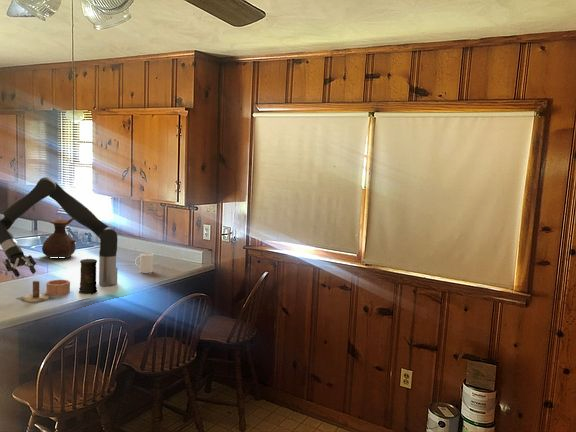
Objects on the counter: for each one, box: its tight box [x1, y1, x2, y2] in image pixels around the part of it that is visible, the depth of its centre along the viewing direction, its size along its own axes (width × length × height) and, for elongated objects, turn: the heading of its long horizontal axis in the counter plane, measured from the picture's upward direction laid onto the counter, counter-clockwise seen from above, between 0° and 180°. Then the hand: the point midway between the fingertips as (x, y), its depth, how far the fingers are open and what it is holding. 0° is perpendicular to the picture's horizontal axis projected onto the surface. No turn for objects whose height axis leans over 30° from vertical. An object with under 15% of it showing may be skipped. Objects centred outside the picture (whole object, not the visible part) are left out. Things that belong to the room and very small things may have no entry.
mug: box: [134, 252, 154, 273], centre depth 303 cm, size 12×8×12 cm
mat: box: [15, 295, 57, 305], centre depth 236 cm, size 12×15×1 cm
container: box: [78, 258, 98, 295], centre depth 251 cm, size 9×9×18 cm
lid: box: [22, 280, 50, 303], centre depth 235 cm, size 12×12×9 cm
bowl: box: [45, 279, 71, 296], centre depth 248 cm, size 11×11×6 cm
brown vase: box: [41, 217, 77, 258], centre depth 329 cm, size 22×22×30 cm
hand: (26, 274), depth 238 cm, fingers open, 8 cm apart
